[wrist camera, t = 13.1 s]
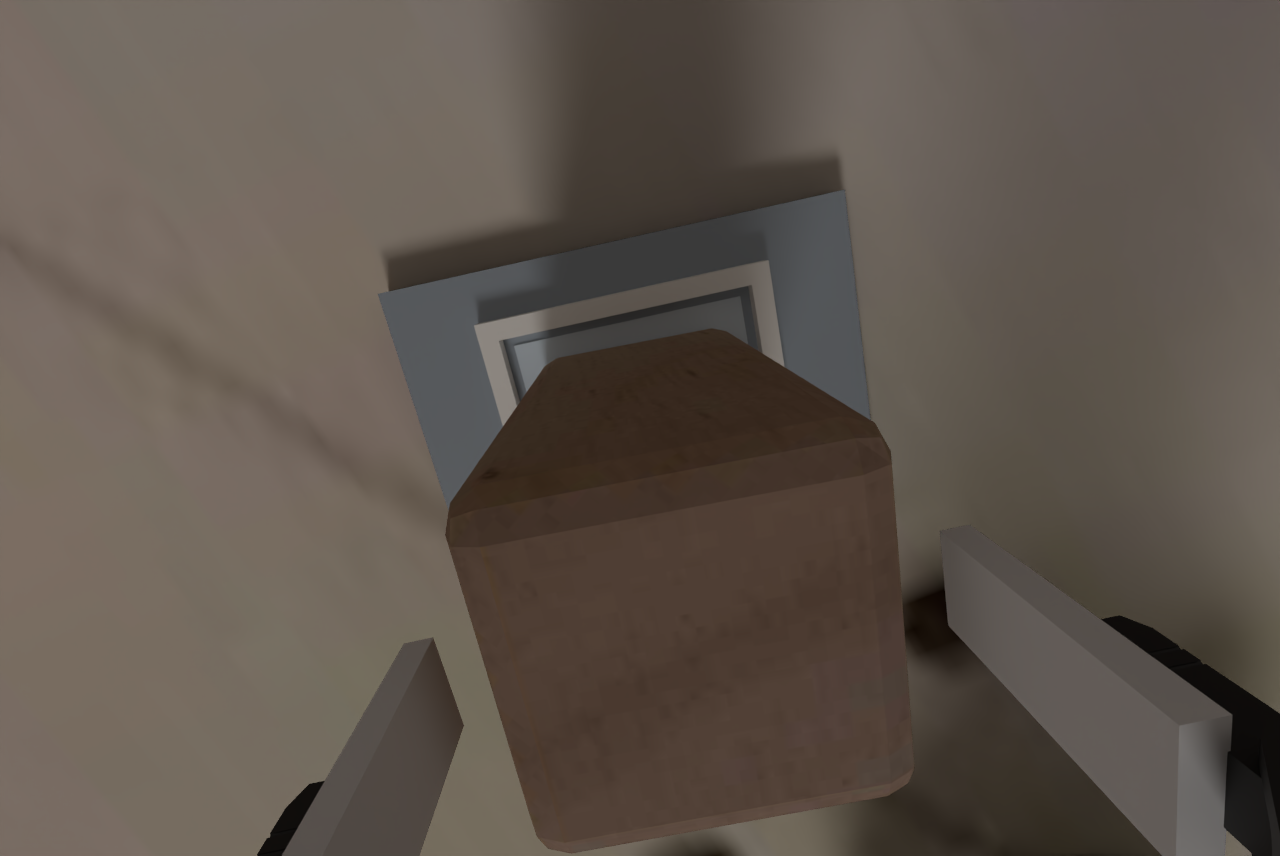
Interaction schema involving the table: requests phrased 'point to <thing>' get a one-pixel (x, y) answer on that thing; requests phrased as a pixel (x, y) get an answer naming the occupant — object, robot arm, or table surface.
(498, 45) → the table surface
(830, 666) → the wooden block
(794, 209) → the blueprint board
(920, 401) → the table surface
